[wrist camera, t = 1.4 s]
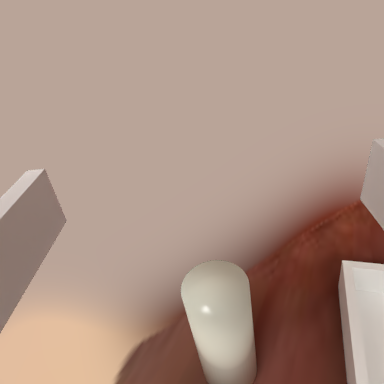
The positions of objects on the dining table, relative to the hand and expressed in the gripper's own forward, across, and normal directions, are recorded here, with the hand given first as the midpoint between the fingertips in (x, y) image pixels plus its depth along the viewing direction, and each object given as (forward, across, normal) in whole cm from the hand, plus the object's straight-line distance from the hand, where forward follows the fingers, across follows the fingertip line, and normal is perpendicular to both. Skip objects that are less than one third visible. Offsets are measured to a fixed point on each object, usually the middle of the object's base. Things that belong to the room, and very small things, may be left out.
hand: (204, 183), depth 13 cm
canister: (+8, 0, -29) cm, 30 cm away
